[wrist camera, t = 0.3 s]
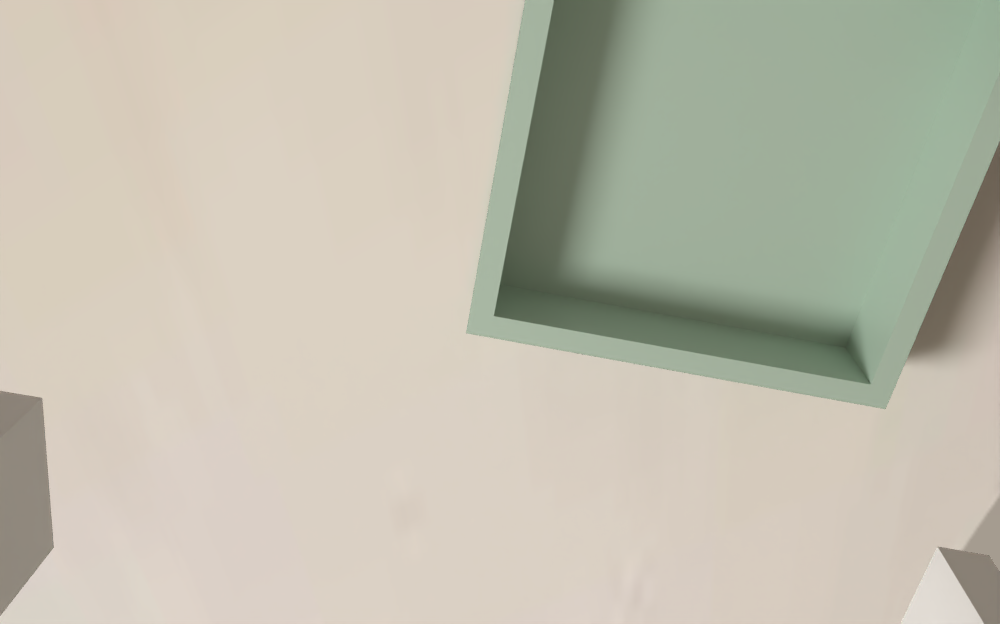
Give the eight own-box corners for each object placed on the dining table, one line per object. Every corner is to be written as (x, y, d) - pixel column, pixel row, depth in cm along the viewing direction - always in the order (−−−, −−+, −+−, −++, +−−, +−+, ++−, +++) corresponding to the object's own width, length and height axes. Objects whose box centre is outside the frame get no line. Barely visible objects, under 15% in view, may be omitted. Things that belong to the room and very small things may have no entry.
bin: (551, -141, 32) (551, -147, 29) (1020, -49, 33) (1078, -44, 29) (473, 294, 40) (465, 333, 36) (855, 364, 40) (885, 409, 37)
